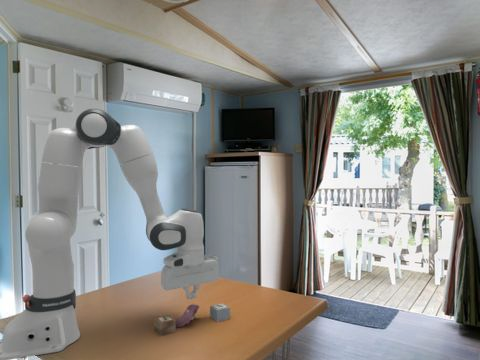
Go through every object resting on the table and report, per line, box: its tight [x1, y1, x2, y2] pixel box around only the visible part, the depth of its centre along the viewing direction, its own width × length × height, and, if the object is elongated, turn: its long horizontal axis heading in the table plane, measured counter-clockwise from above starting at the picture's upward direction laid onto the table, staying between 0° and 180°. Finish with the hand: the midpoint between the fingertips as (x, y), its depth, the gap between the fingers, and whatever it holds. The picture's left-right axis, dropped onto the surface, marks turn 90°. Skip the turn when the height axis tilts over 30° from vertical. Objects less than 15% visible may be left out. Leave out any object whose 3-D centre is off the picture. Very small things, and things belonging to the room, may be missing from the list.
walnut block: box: [154, 315, 177, 337], centre depth 117 cm, size 5×5×4 cm
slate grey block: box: [209, 303, 231, 323], centre depth 128 cm, size 5×5×4 cm
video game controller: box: [175, 303, 200, 328], centre depth 124 cm, size 10×5×7 cm, turn 169°
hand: (191, 298), depth 124 cm, fingers closed
